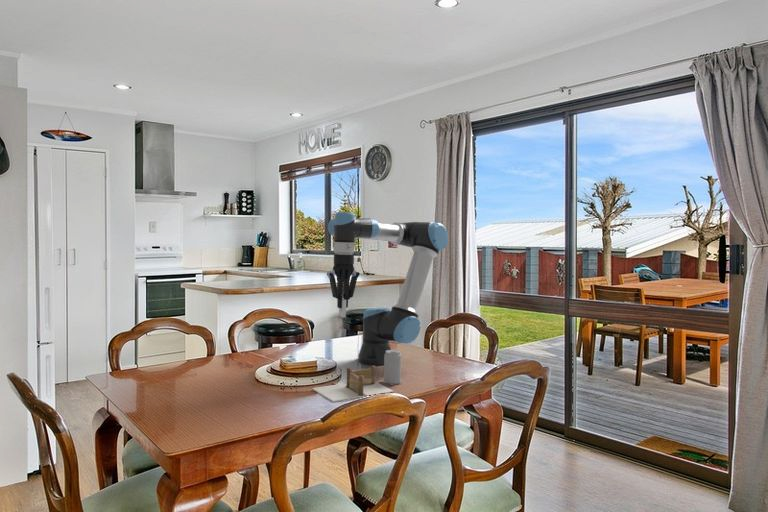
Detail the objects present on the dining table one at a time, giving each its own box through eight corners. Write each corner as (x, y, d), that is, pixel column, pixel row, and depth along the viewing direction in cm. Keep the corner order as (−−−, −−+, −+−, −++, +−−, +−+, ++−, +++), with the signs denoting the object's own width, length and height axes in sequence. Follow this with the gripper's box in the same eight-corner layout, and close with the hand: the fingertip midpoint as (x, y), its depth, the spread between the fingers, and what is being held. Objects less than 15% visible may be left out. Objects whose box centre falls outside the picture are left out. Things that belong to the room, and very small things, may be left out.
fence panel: (359, 395, 184) (359, 377, 184) (348, 387, 193) (348, 370, 192) (364, 394, 185) (364, 376, 185) (352, 387, 194) (353, 369, 193)
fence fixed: (345, 388, 195) (346, 367, 194) (373, 383, 201) (373, 364, 201) (347, 389, 193) (348, 369, 193) (375, 385, 200) (376, 365, 199)
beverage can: (386, 385, 199) (387, 353, 199) (381, 380, 206) (382, 349, 205) (402, 384, 201) (403, 353, 200) (397, 380, 207) (398, 349, 207)
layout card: (312, 389, 192) (312, 387, 192) (370, 380, 205) (370, 379, 205) (333, 402, 179) (333, 400, 179) (393, 392, 192) (393, 390, 192)
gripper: (333, 254, 195) (331, 319, 196) (364, 254, 202) (362, 317, 203) (323, 253, 201) (322, 316, 202) (354, 253, 208) (352, 314, 209)
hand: (342, 316), depth 203 cm, fingers closed
